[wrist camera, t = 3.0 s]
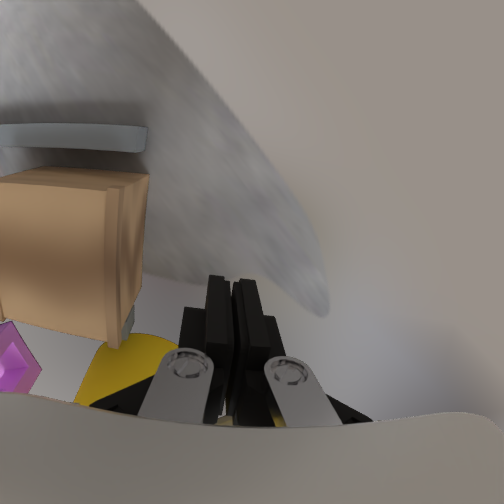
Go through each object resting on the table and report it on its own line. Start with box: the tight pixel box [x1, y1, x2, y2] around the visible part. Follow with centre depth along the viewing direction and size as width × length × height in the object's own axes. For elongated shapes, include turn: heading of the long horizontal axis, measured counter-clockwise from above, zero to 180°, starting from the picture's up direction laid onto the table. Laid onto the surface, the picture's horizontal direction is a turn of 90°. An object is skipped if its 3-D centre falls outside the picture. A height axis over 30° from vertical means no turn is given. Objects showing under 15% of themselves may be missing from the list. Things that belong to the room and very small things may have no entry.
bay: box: [0, 123, 148, 341], centre depth 18 cm, size 14×20×2 cm
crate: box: [0, 166, 149, 349], centre depth 17 cm, size 8×8×7 cm
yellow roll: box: [73, 333, 178, 406], centre depth 21 cm, size 10×10×9 cm
